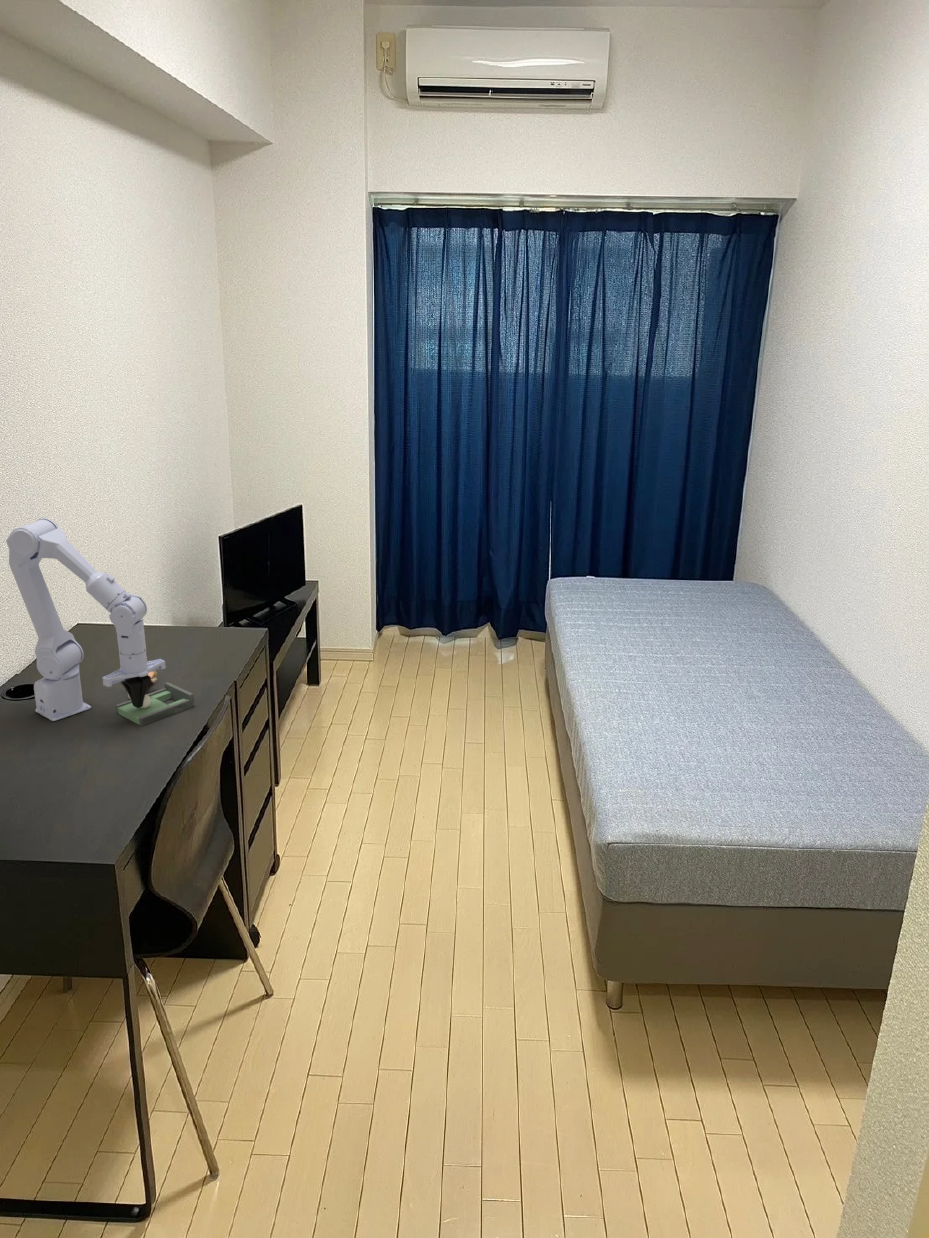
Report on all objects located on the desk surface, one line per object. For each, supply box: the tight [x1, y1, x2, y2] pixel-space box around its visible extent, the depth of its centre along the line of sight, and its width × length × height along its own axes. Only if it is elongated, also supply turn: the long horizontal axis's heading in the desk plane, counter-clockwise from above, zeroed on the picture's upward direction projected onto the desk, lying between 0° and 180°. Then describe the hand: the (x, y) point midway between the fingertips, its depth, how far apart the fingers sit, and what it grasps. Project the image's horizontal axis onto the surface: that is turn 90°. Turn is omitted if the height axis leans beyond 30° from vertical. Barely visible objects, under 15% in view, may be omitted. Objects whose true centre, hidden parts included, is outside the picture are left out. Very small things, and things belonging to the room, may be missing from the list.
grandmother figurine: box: [127, 670, 158, 700], centre depth 220 cm, size 8×4×13 cm
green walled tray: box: [115, 681, 195, 727], centre depth 210 cm, size 14×10×3 cm
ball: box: [140, 694, 151, 708], centre depth 208 cm, size 3×3×3 cm
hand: (138, 705), depth 206 cm, fingers closed
